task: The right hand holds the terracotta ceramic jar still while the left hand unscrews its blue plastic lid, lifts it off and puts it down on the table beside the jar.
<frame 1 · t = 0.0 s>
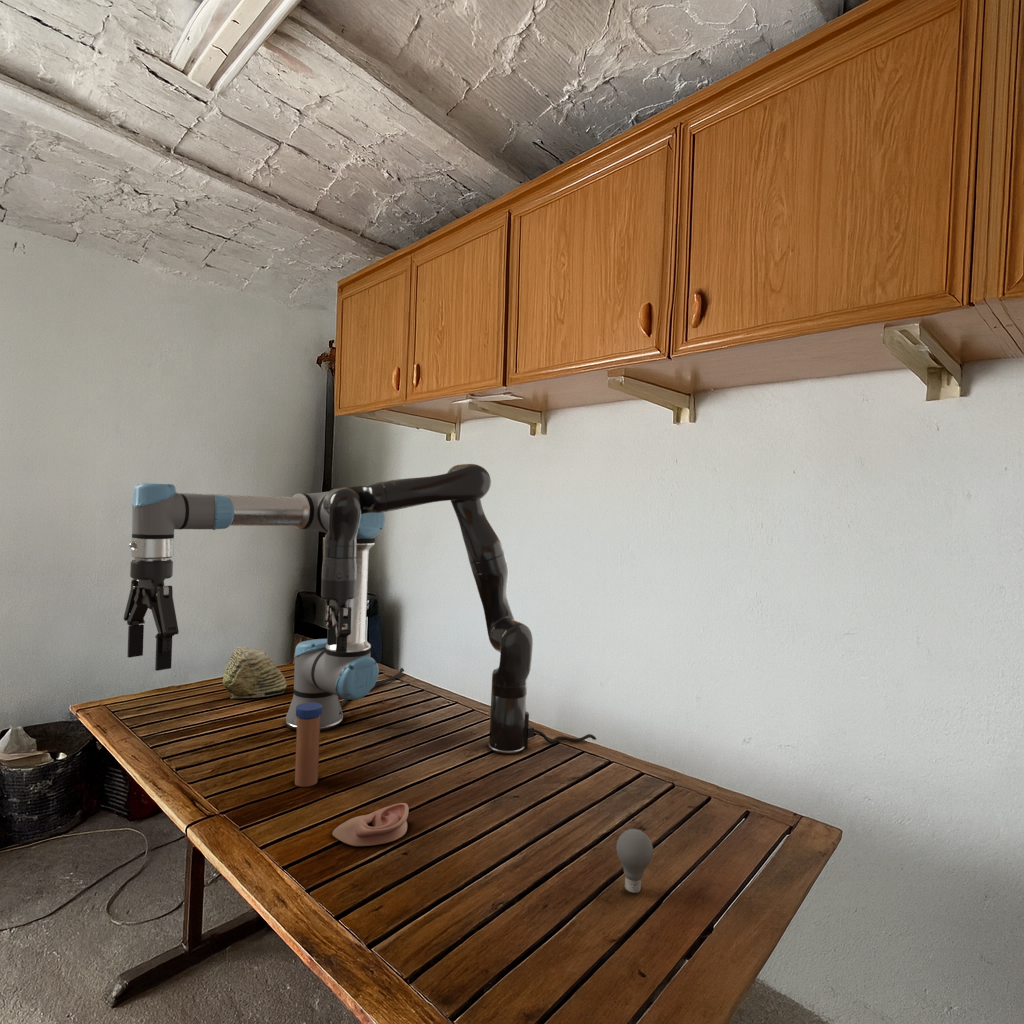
left hand: (148, 662, 129), 28 cm above the table, tool pointing down, fingers open, 13 cm apart
right hand: (336, 648, 142), 29 cm above the table, tool pointing down, fingers open, 8 cm apart
anatomical model: (370, 832, 121), on the table
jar: (306, 781, 140), on the table
lid: (309, 707, 140), point 17 cm above the table, screwed on, not yet turned
fossil: (254, 694, 198), on the table
light bulb: (632, 891, 106), on the table
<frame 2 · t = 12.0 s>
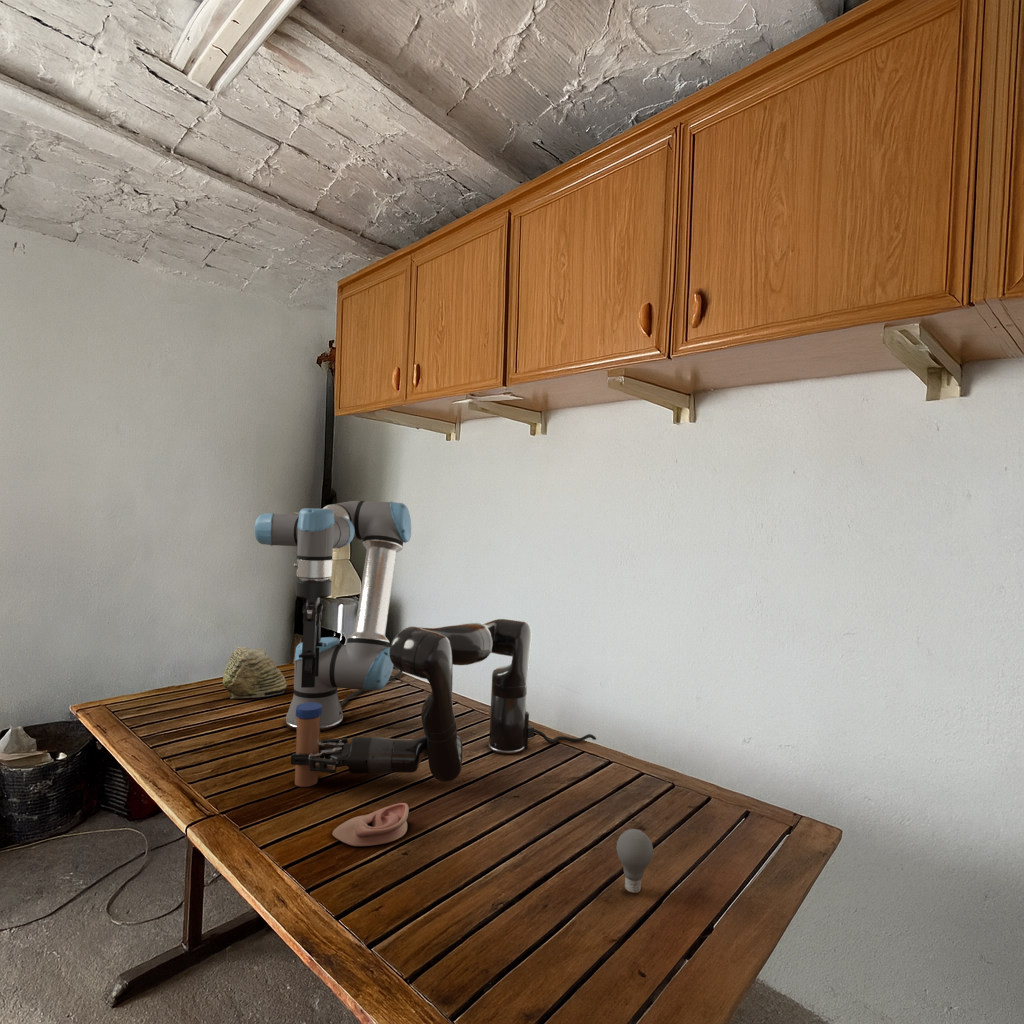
left hand: (310, 681, 140), 22 cm above the table, tool pointing down, fingers open, 7 cm apart
right hand: (295, 754, 140), 6 cm above the table, tool horizontal, fingers closed on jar, 5 cm apart
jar: (306, 781, 140), on the table, touching right hand
everything else where it was.
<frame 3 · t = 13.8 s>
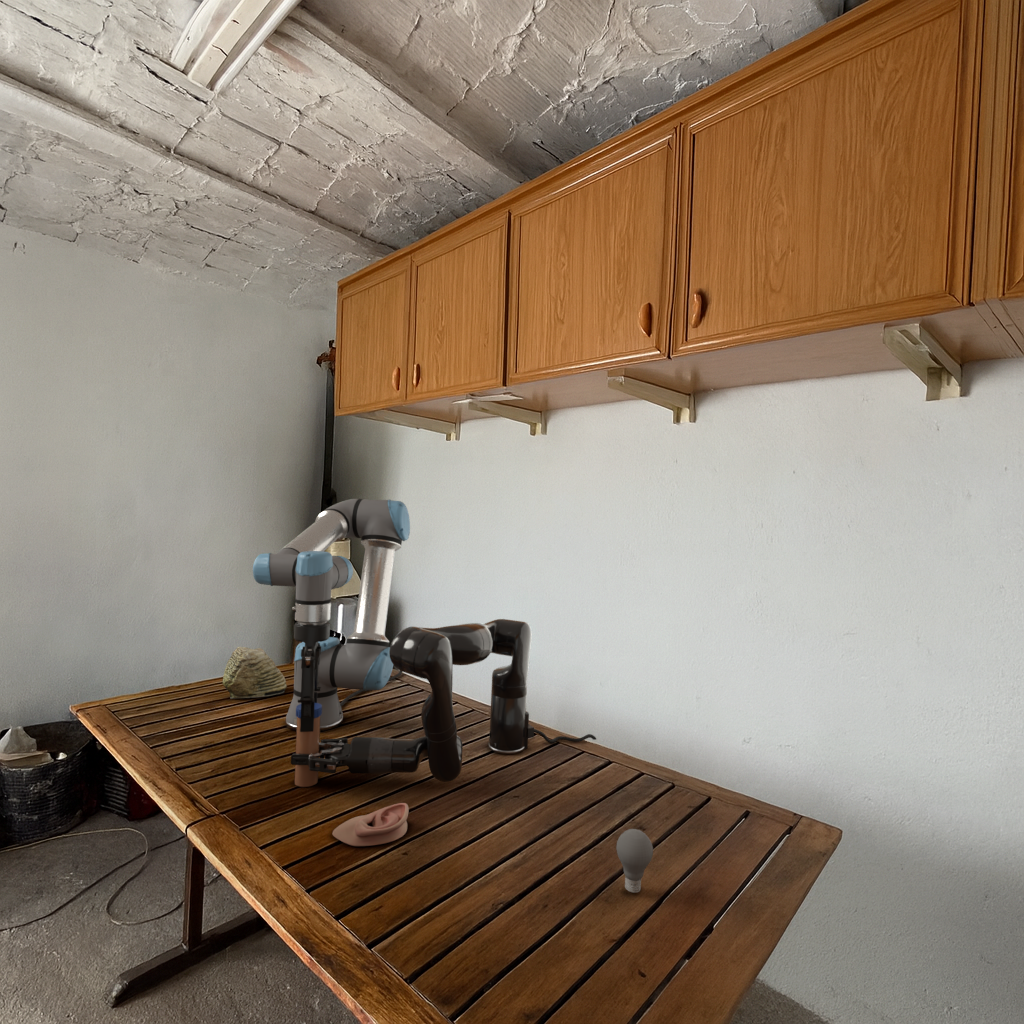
left hand: (308, 725, 140), 13 cm above the table, tool pointing down, fingers closed on lid, 5 cm apart
right hand: (295, 754, 140), 6 cm above the table, tool horizontal, fingers closed on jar, 5 cm apart
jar: (306, 781, 140), on the table, touching right hand
lid: (309, 707, 140), point 17 cm above the table, screwed on, not yet turned, touching left hand
everything else where it was.
when the left hand's fingers open (13 cm above the table, at t = 15.1 s): lid stays where it is, point 17 cm above the table.
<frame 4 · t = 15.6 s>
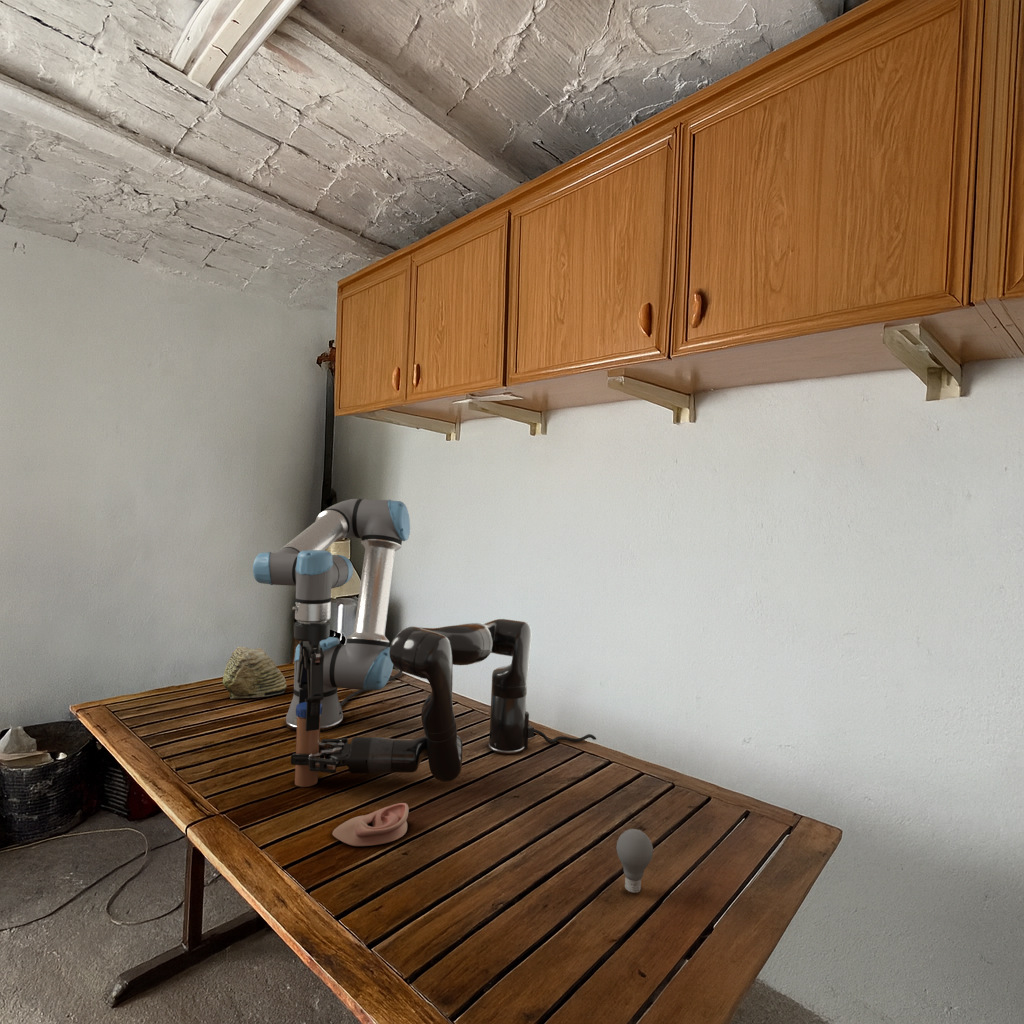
left hand: (308, 723, 140), 13 cm above the table, tool pointing down, fingers open, 7 cm apart
right hand: (295, 754, 140), 6 cm above the table, tool horizontal, fingers closed on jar, 5 cm apart
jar: (306, 781, 140), on the table, touching right hand
lid: (309, 706, 140), point 17 cm above the table, turned 64° so far, risen 0.2 cm, still on its thread
everything else where it was.
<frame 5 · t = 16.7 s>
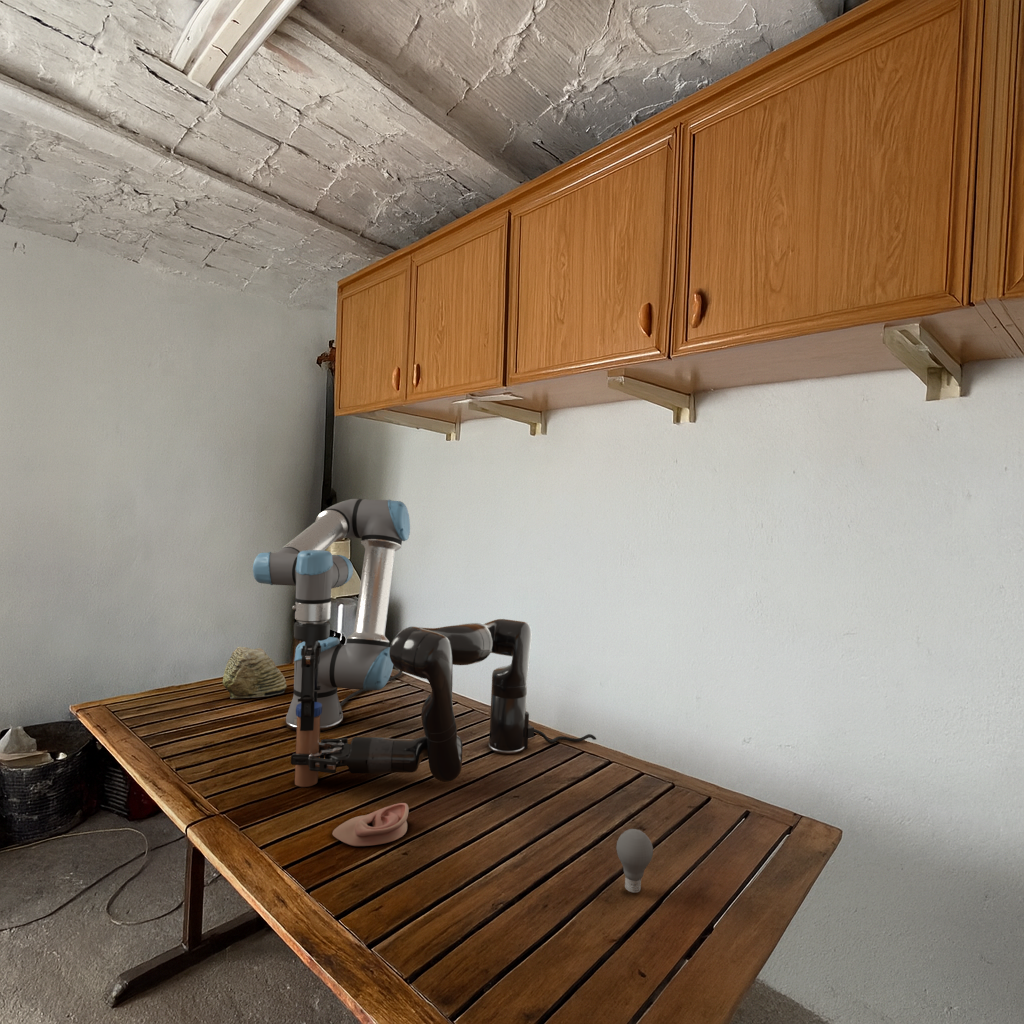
left hand: (308, 724, 140), 13 cm above the table, tool pointing down, fingers closed on lid, 5 cm apart
right hand: (295, 754, 140), 6 cm above the table, tool horizontal, fingers closed on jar, 5 cm apart
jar: (306, 781, 140), on the table, touching right hand
lid: (309, 706, 140), point 17 cm above the table, turned 64° so far, risen 0.2 cm, still on its thread, touching left hand
everything else where it was.
when the left hand's fingers open (0 cm above the table, at t = 22.9 s): lid drops 2 cm, point 2 cm above the table.
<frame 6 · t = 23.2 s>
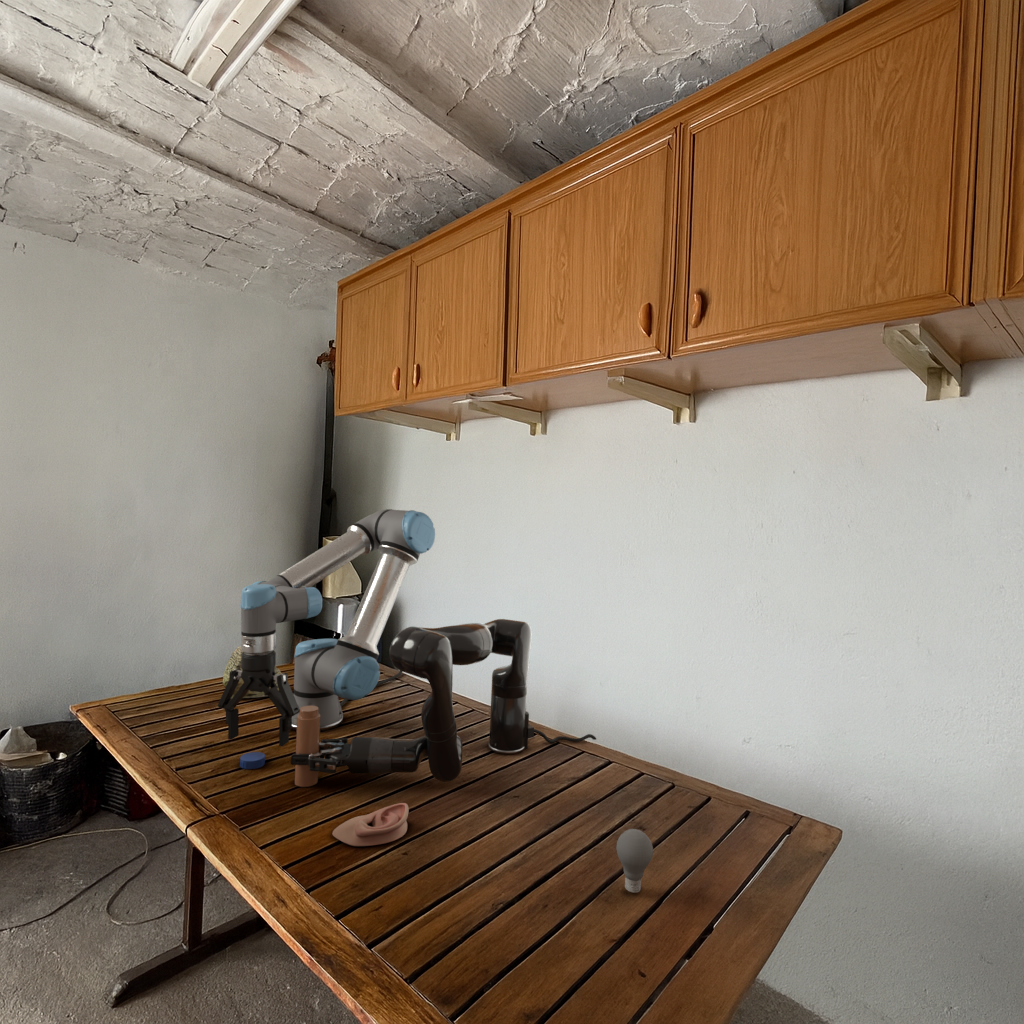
left hand: (258, 740, 149), 5 cm above the table, tool pointing down, fingers open, 13 cm apart
right hand: (295, 754, 140), 6 cm above the table, tool horizontal, fingers closed on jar, 5 cm apart
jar: (306, 781, 140), on the table, touching right hand
lid: (252, 758, 148), point 2 cm above the table, off its thread
everything else where it was.
when the right hand's fingers open (6 cm above the table, at t = 23.6 s): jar stays where it is, on the table.
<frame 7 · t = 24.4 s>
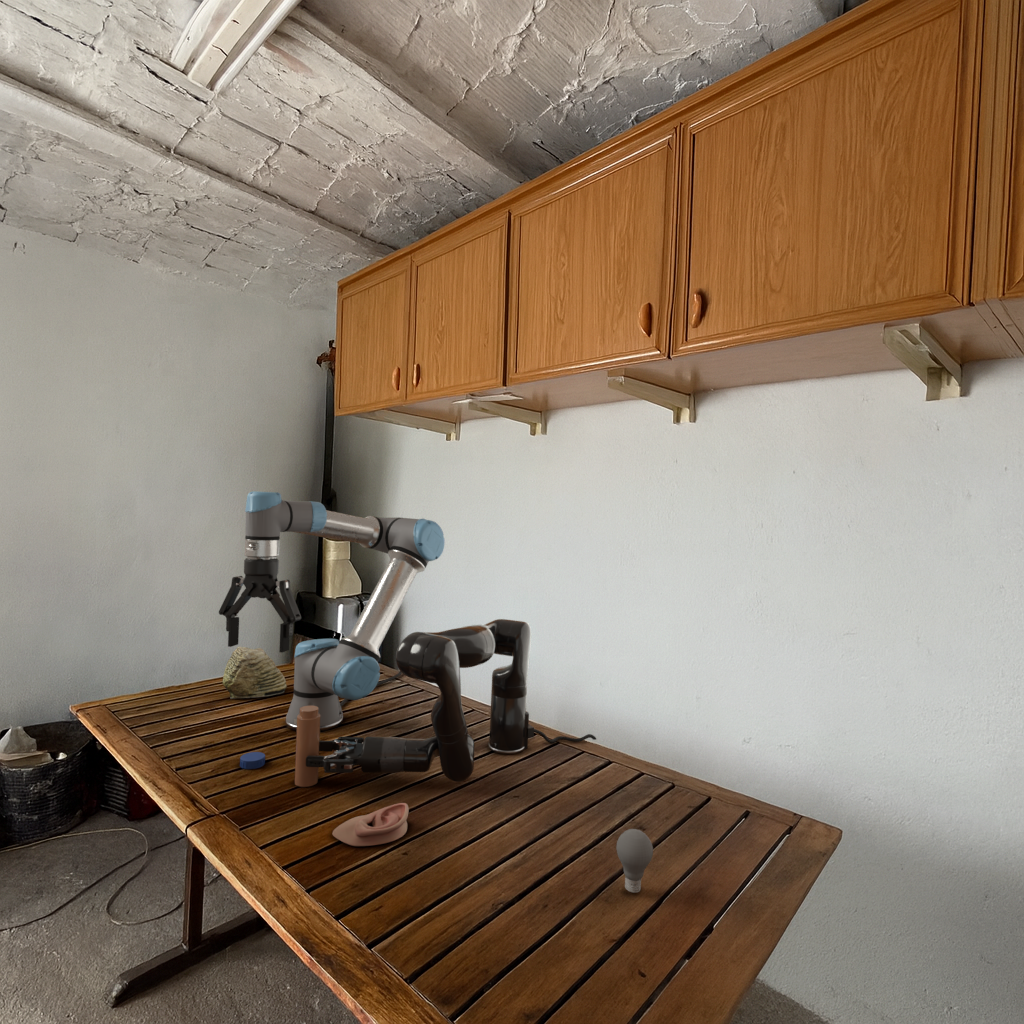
left hand: (258, 648, 148), 27 cm above the table, tool pointing down, fingers open, 13 cm apart
right hand: (311, 753, 141), 6 cm above the table, tool horizontal, fingers open, 8 cm apart
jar: (306, 781, 140), on the table
everything else where it was.
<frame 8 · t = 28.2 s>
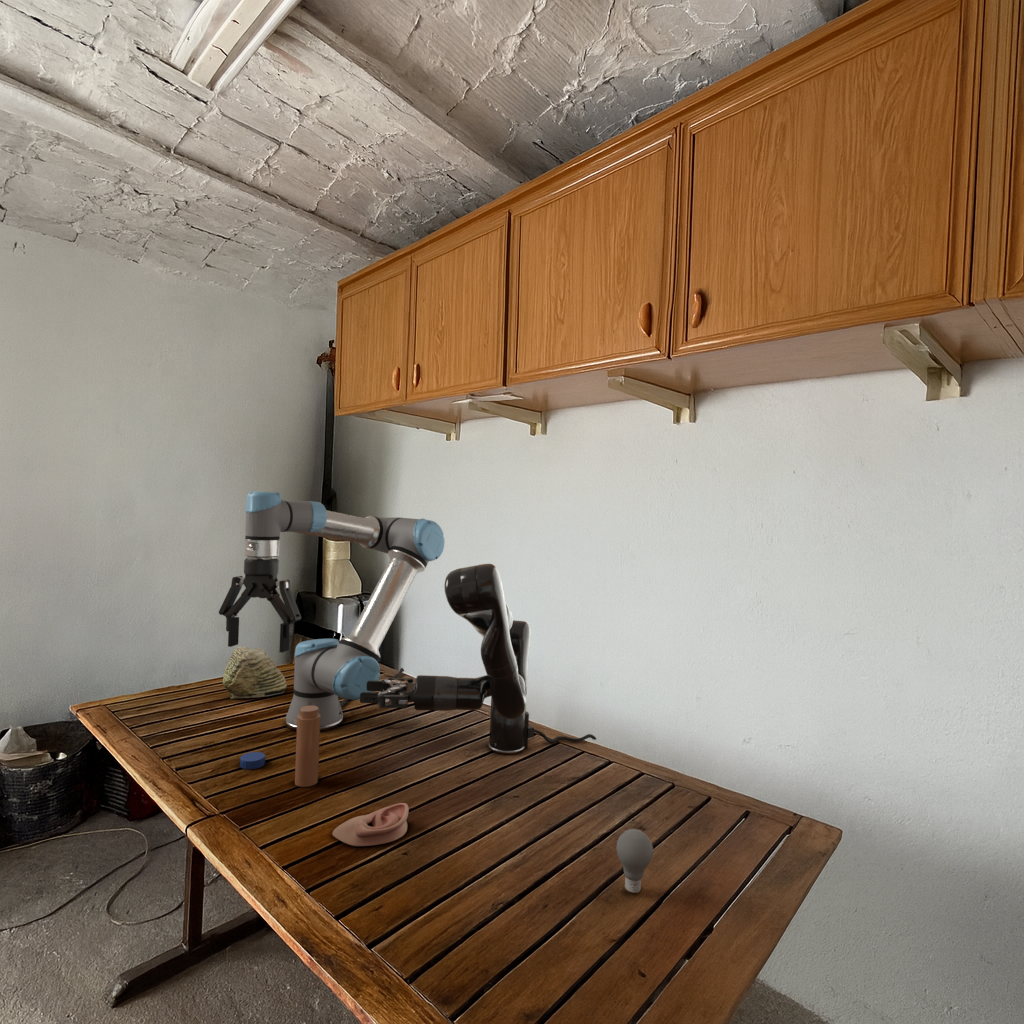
left hand: (258, 648, 148), 27 cm above the table, tool pointing down, fingers open, 13 cm apart
right hand: (363, 691, 141), 20 cm above the table, tool horizontal, fingers open, 8 cm apart
nothing on the table moved.
at the end: lid came off its thread; lid point 1.5 cm above the table; the left hand is holding nothing; the right hand is holding nothing; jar tilted 0°; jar moved 0.0 cm from its start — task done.
